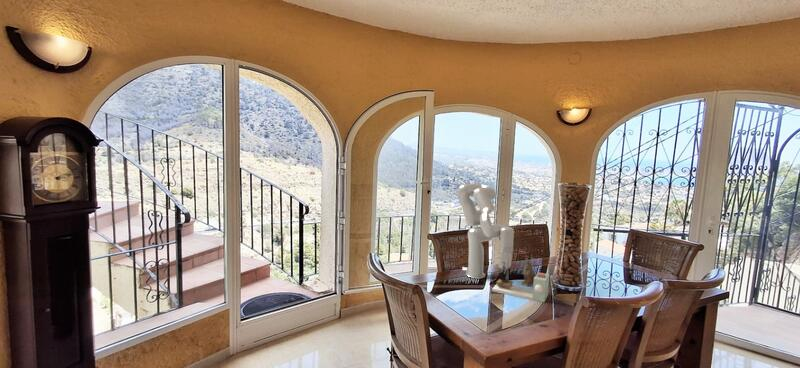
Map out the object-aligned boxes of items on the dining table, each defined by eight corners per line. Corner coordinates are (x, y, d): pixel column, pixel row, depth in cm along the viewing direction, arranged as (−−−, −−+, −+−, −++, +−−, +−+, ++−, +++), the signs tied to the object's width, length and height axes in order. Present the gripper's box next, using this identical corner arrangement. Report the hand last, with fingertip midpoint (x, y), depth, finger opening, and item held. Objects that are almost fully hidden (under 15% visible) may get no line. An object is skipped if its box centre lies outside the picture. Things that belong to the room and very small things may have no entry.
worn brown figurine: (527, 290, 227) (524, 263, 223) (520, 287, 232) (517, 260, 228) (540, 283, 233) (538, 256, 229) (533, 280, 238) (530, 253, 233)
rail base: (492, 291, 219) (492, 285, 218) (498, 284, 229) (498, 279, 229) (532, 299, 207) (532, 293, 207) (536, 292, 218) (537, 286, 217)
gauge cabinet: (532, 299, 207) (533, 278, 206) (536, 292, 218) (538, 272, 216) (544, 302, 204) (545, 280, 203) (548, 294, 215) (549, 274, 213)
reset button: (538, 279, 209) (538, 273, 209) (539, 277, 212) (539, 272, 211) (543, 280, 208) (543, 274, 208) (544, 278, 210) (544, 273, 210)
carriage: (496, 286, 220) (496, 270, 219) (499, 283, 225) (499, 267, 224) (510, 289, 216) (510, 272, 215) (512, 286, 221) (513, 269, 220)
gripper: (503, 244, 228) (502, 272, 230) (495, 251, 213) (494, 280, 215) (516, 246, 224) (515, 274, 226) (508, 253, 209) (507, 283, 211)
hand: (504, 277), depth 220 cm, fingers open, 9 cm apart
